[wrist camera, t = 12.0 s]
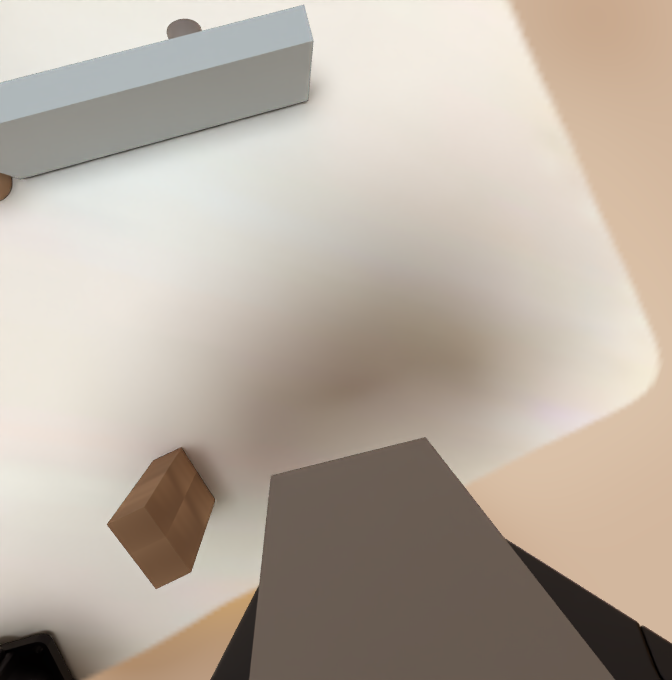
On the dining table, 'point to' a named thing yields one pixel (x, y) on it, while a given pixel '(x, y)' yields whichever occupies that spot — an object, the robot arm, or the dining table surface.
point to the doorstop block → (400, 581)
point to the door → (154, 91)
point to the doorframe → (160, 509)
